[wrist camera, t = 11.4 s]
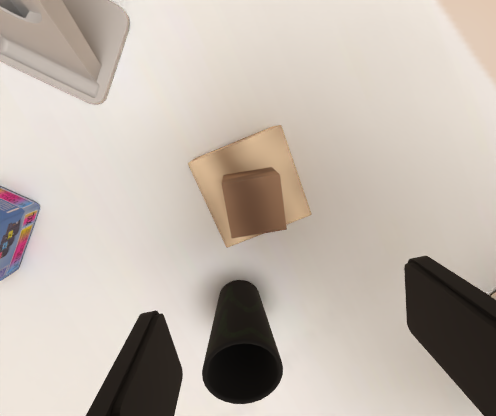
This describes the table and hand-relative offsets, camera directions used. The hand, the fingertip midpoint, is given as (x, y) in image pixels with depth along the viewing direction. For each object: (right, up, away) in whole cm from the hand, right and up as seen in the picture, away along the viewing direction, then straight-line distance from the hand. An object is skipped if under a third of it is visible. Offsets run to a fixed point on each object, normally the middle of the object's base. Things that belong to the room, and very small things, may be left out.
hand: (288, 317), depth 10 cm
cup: (-3, -8, +27) cm, 28 cm away
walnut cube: (-1, +6, +18) cm, 19 cm away
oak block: (-1, +7, +22) cm, 24 cm away
